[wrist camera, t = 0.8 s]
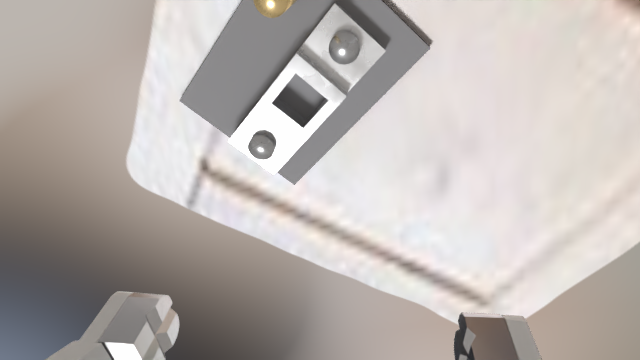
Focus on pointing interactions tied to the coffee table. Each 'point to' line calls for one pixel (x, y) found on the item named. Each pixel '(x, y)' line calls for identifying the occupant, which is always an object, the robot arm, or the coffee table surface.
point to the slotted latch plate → (322, 74)
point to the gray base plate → (271, 58)
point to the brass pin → (273, 7)
